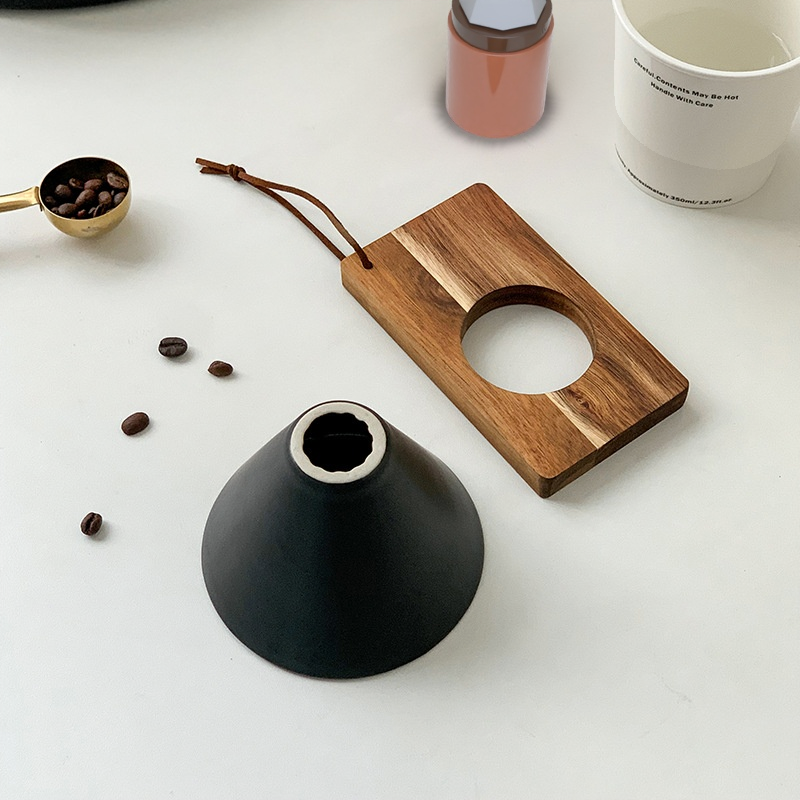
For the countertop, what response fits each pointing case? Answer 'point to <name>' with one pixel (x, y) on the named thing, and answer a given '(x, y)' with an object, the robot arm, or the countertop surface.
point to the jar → (497, 74)
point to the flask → (503, 12)
